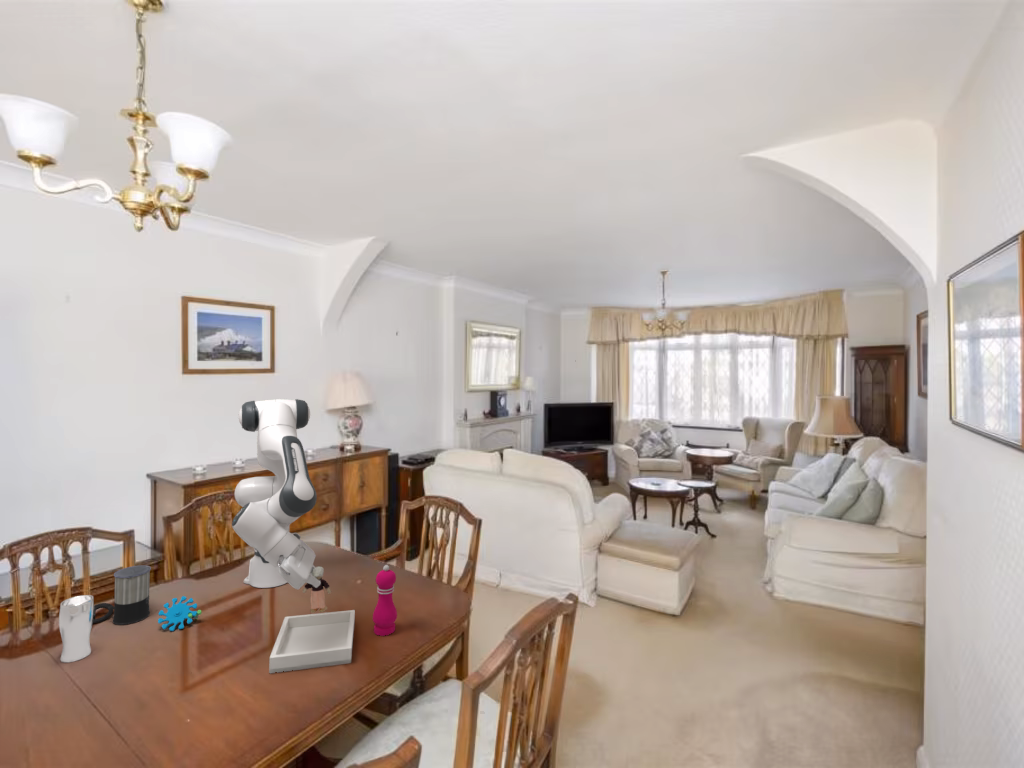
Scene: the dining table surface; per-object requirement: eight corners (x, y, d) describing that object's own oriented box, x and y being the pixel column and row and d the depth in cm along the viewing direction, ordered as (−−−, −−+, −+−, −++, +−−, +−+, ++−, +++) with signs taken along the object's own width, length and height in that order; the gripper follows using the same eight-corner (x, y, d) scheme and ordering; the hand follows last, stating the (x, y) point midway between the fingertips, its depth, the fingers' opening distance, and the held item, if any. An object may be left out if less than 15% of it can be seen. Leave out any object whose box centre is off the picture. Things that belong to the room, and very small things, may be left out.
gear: (151, 629, 139) (165, 594, 146) (154, 636, 143) (168, 602, 150) (193, 630, 142) (206, 595, 149) (196, 636, 146) (208, 603, 153)
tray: (284, 630, 144) (285, 616, 144) (354, 622, 149) (354, 609, 149) (269, 673, 123) (269, 658, 123) (350, 663, 128) (351, 648, 128)
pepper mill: (367, 630, 145) (369, 564, 145) (388, 622, 150) (389, 558, 150) (380, 639, 140) (382, 571, 140) (401, 630, 145) (403, 565, 145)
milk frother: (152, 618, 148) (154, 571, 148) (85, 637, 137) (86, 585, 137) (144, 603, 158) (145, 558, 158) (80, 619, 147) (81, 571, 147)
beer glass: (65, 651, 130) (66, 596, 130) (97, 646, 132) (98, 592, 132) (52, 666, 123) (54, 608, 123) (86, 660, 126) (88, 603, 126)
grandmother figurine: (331, 604, 140) (332, 562, 139) (330, 611, 136) (332, 568, 135) (302, 607, 137) (303, 565, 136) (301, 615, 133) (302, 571, 133)
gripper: (285, 555, 124) (324, 589, 127) (297, 530, 144) (331, 560, 146) (266, 573, 123) (306, 607, 125) (281, 546, 142) (315, 576, 145)
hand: (319, 582), depth 136 cm, fingers closed on grandmother figurine, 2 cm apart
